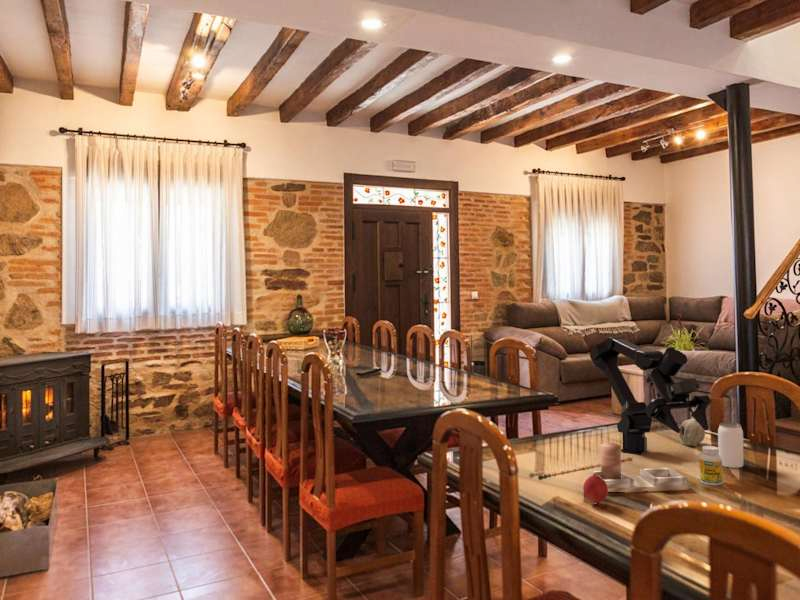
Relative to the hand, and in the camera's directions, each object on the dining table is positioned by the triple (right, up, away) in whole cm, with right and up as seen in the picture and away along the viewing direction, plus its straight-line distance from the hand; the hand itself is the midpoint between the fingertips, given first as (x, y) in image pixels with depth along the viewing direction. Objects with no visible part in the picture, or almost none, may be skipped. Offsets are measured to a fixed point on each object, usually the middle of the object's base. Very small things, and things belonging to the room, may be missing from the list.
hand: (693, 430), depth 171 cm
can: (+15, -12, +9) cm, 21 cm away
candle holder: (-18, -13, -7) cm, 24 cm away
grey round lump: (+15, -12, +32) cm, 37 cm away
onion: (-34, -14, -20) cm, 41 cm away
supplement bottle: (+2, -13, -6) cm, 14 cm away
